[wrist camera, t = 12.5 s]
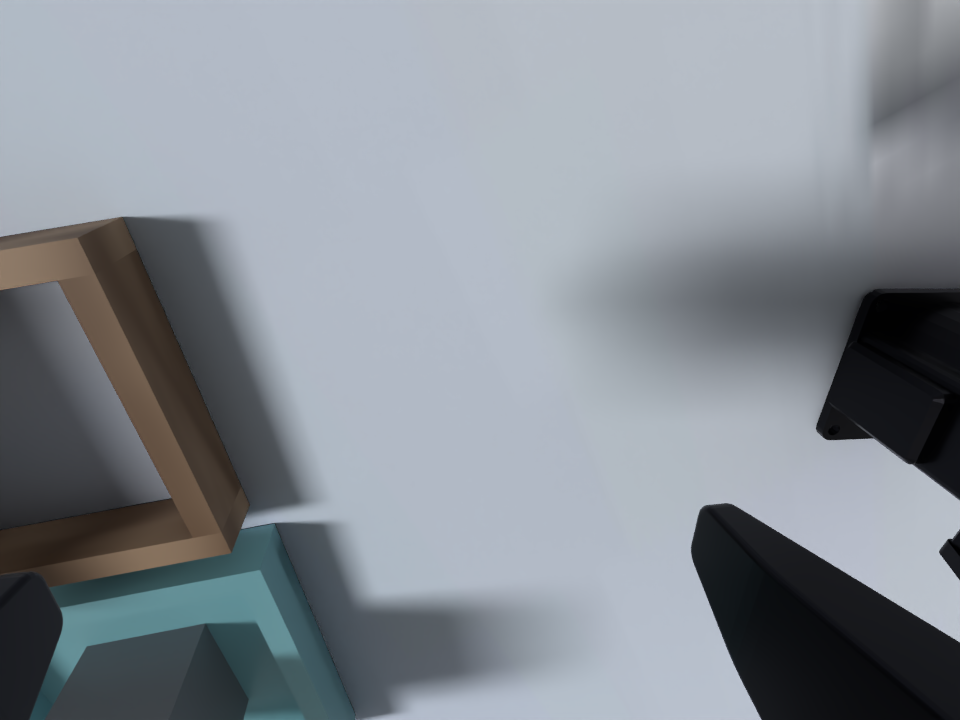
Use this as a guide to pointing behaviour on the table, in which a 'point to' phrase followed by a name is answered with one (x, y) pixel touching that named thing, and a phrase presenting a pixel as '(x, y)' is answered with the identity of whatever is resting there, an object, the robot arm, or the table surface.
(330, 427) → the table surface
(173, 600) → the teal tray
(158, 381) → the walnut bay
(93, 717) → the grey lidded box
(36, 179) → the table surface
